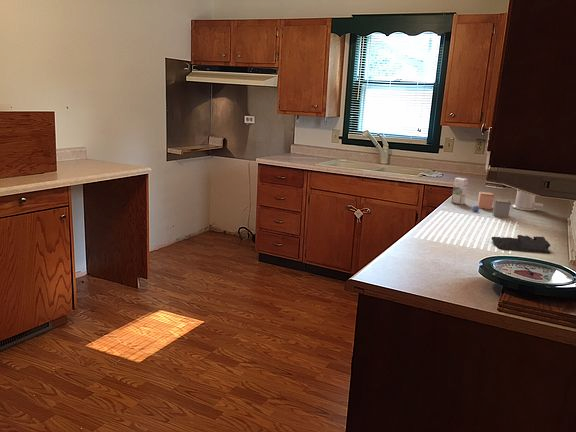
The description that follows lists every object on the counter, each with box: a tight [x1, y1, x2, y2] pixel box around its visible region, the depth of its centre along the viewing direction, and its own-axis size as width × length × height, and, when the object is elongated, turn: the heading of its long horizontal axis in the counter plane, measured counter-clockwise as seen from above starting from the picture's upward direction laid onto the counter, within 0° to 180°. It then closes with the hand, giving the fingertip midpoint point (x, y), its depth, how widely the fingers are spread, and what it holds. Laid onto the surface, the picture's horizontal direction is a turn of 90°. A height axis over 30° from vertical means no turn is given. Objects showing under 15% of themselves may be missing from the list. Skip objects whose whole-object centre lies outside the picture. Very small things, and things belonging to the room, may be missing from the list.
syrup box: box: [451, 177, 469, 205], centre depth 286 cm, size 6×6×14 cm
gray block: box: [492, 198, 512, 219], centre depth 261 cm, size 7×7×8 cm
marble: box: [472, 204, 480, 212], centre depth 268 cm, size 3×3×3 cm
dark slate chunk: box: [491, 234, 552, 255], centre depth 206 cm, size 15×22×5 cm
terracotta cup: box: [476, 191, 495, 210], centre depth 279 cm, size 7×7×8 cm
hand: (490, 181), depth 277 cm, fingers open, 9 cm apart
